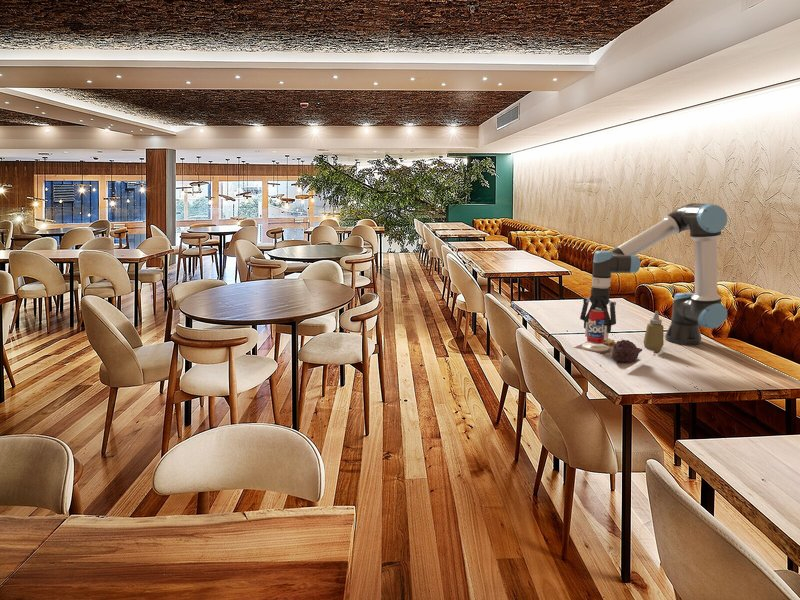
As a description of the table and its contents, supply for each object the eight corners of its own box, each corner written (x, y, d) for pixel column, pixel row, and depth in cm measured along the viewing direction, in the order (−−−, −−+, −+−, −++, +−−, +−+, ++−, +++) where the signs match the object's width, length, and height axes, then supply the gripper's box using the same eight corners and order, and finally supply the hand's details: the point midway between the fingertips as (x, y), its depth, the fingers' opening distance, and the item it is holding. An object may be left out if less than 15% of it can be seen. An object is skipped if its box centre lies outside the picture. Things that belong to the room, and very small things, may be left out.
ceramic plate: (612, 347, 236) (612, 346, 236) (602, 353, 228) (602, 351, 228) (588, 342, 244) (589, 341, 243) (577, 347, 236) (577, 346, 236)
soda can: (602, 340, 239) (605, 307, 236) (607, 345, 231) (610, 311, 228) (584, 339, 240) (587, 307, 237) (588, 344, 232) (591, 311, 229)
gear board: (624, 347, 242) (625, 344, 242) (604, 357, 227) (604, 354, 227) (595, 341, 252) (595, 338, 252) (573, 350, 236) (573, 347, 236)
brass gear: (617, 343, 243) (617, 334, 243) (610, 346, 238) (610, 337, 237) (600, 339, 249) (601, 331, 248) (593, 343, 243) (594, 334, 242)
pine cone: (622, 371, 210) (624, 346, 208) (600, 364, 218) (602, 341, 216) (646, 362, 221) (649, 339, 219) (624, 356, 228) (626, 334, 226)
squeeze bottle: (664, 354, 232) (669, 314, 229) (645, 353, 234) (649, 313, 230) (659, 349, 240) (664, 310, 236) (640, 348, 242) (644, 309, 238)
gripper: (574, 284, 235) (570, 334, 239) (621, 291, 221) (616, 344, 225) (581, 282, 240) (578, 331, 245) (628, 288, 226) (623, 340, 231)
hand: (596, 337), depth 235 cm, fingers closed on soda can, 8 cm apart
